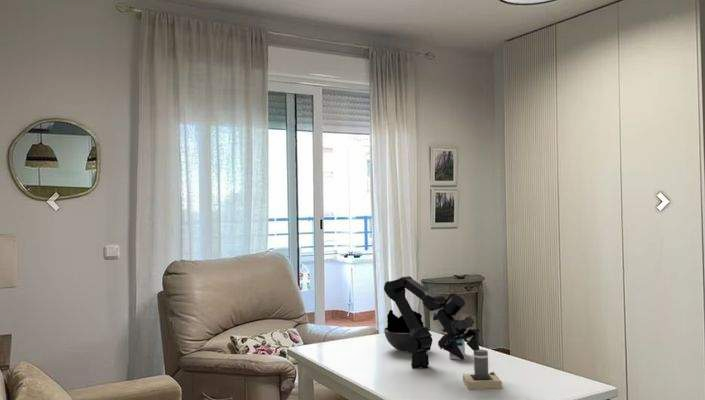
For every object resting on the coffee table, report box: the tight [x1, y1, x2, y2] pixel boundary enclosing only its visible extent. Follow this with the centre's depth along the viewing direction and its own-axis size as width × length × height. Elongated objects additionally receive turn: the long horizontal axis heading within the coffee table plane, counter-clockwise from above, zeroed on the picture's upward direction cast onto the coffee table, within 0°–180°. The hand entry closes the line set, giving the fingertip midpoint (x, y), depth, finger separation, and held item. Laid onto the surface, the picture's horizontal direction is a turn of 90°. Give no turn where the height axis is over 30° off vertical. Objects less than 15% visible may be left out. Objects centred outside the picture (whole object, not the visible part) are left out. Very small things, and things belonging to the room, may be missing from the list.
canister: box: [473, 349, 489, 381], centre depth 203 cm, size 5×5×12 cm
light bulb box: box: [448, 339, 466, 360], centre depth 243 cm, size 11×7×11 cm, turn 168°
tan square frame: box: [462, 371, 503, 390], centre depth 203 cm, size 12×10×3 cm
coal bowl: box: [383, 309, 425, 352], centre depth 255 cm, size 20×20×19 cm
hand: (471, 357), depth 207 cm, fingers open, 9 cm apart
